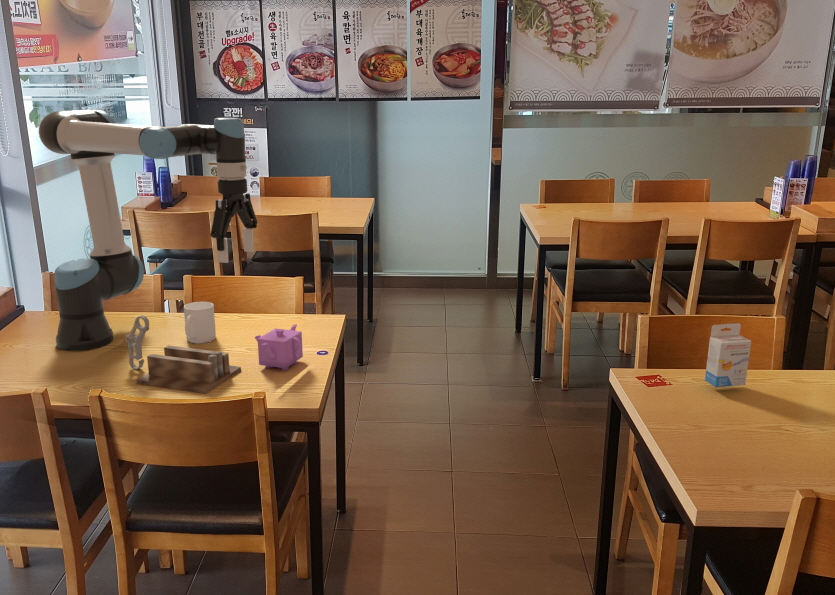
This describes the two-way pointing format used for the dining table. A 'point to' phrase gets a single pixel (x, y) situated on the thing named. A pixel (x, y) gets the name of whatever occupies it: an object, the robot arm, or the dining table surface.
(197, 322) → the mug
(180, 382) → the letter rack
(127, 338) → the bracket
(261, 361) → the teapot
